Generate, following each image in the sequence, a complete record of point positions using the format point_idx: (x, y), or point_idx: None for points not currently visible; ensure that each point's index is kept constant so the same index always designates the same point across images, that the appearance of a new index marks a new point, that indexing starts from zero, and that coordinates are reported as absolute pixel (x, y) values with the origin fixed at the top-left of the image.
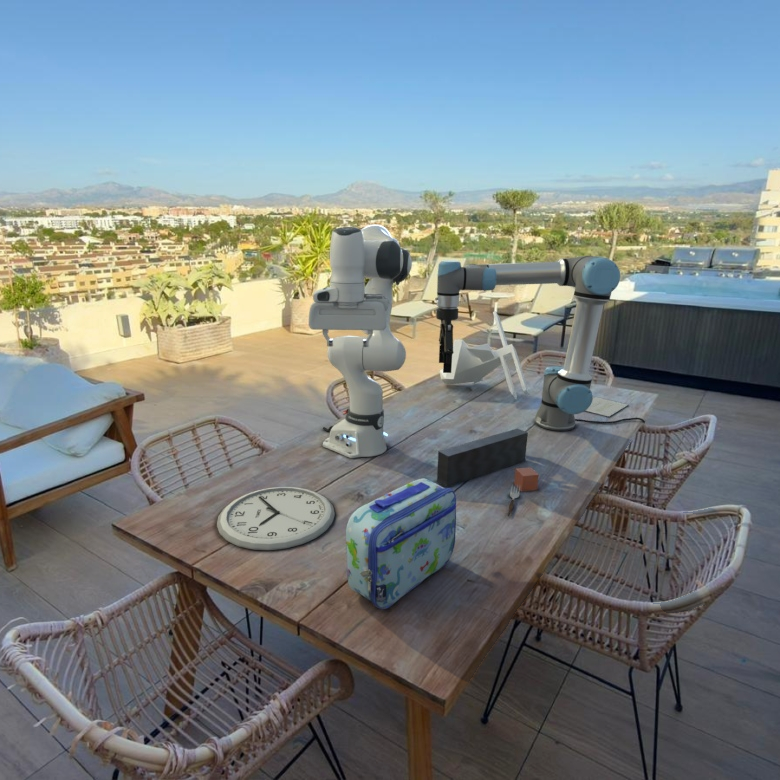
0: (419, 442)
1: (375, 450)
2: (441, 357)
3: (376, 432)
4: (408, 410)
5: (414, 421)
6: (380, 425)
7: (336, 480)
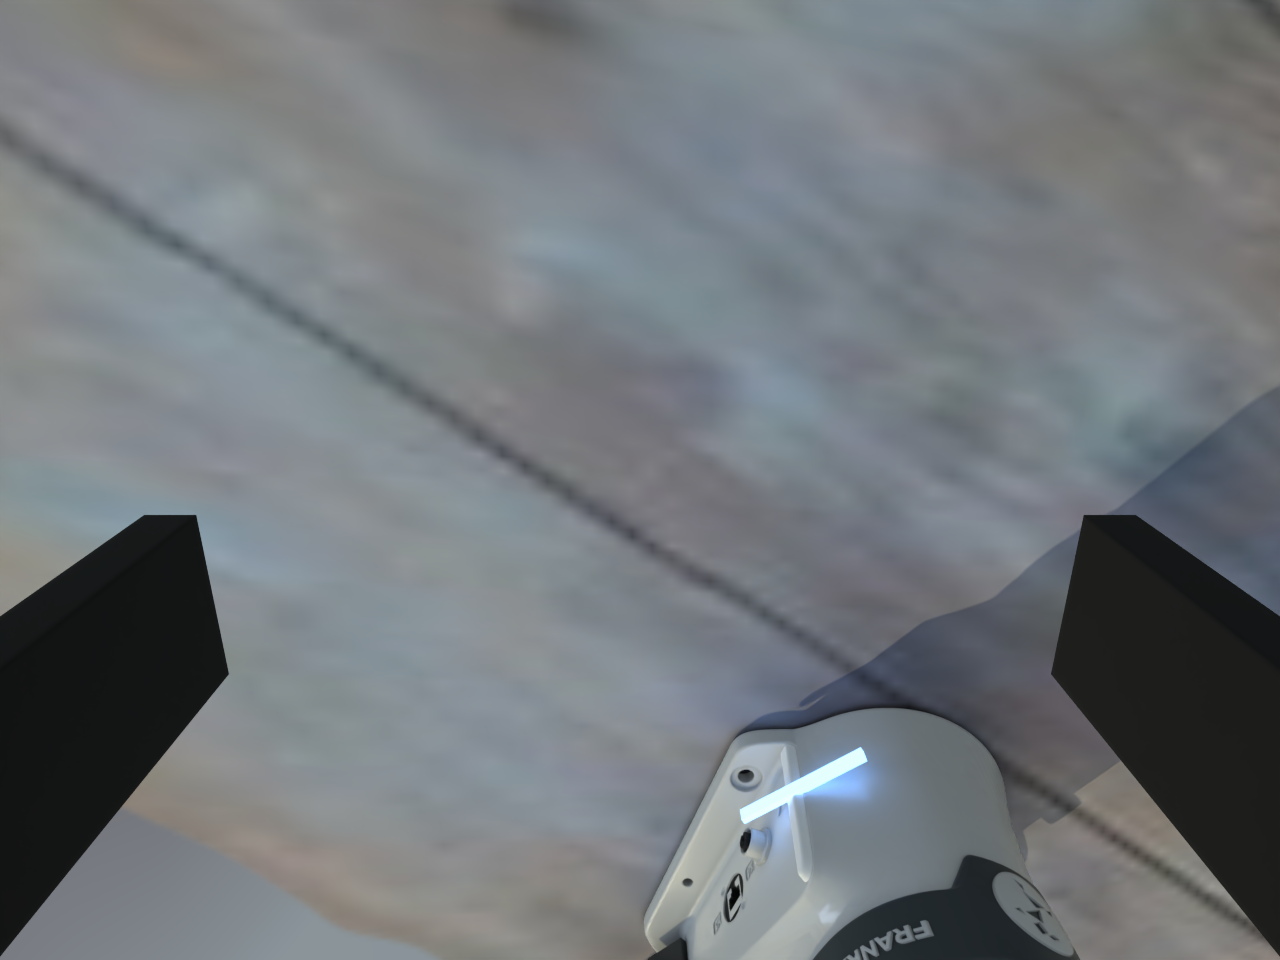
0: (788, 497)
1: (1001, 789)
2: (142, 710)
3: (1027, 875)
4: (93, 538)
5: (352, 506)
6: (1031, 891)
7: None
